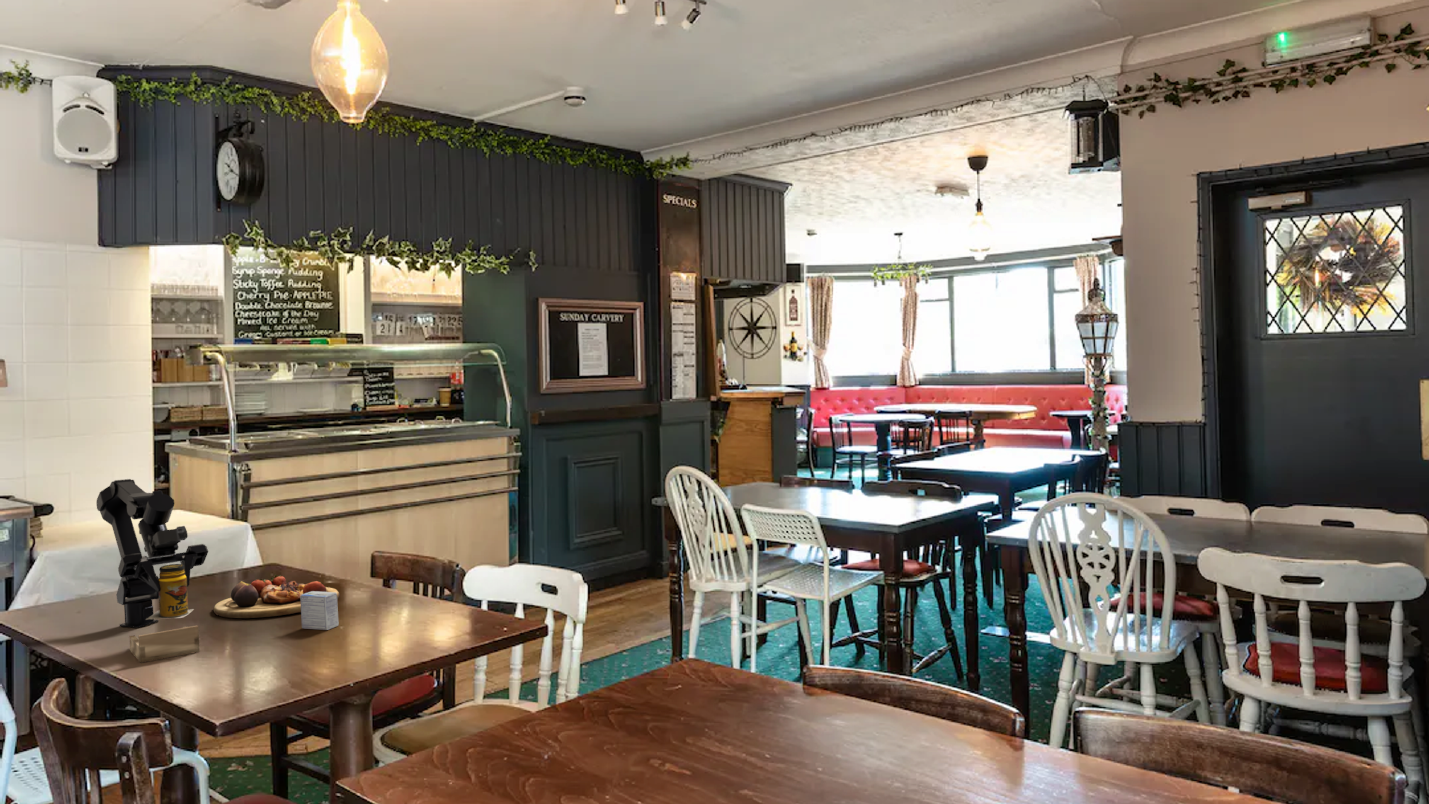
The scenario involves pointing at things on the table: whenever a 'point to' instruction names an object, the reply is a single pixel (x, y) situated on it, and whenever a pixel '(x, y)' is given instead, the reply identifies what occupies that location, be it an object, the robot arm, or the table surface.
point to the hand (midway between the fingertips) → (173, 588)
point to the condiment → (172, 593)
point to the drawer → (165, 644)
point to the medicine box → (319, 610)
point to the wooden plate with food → (266, 598)
